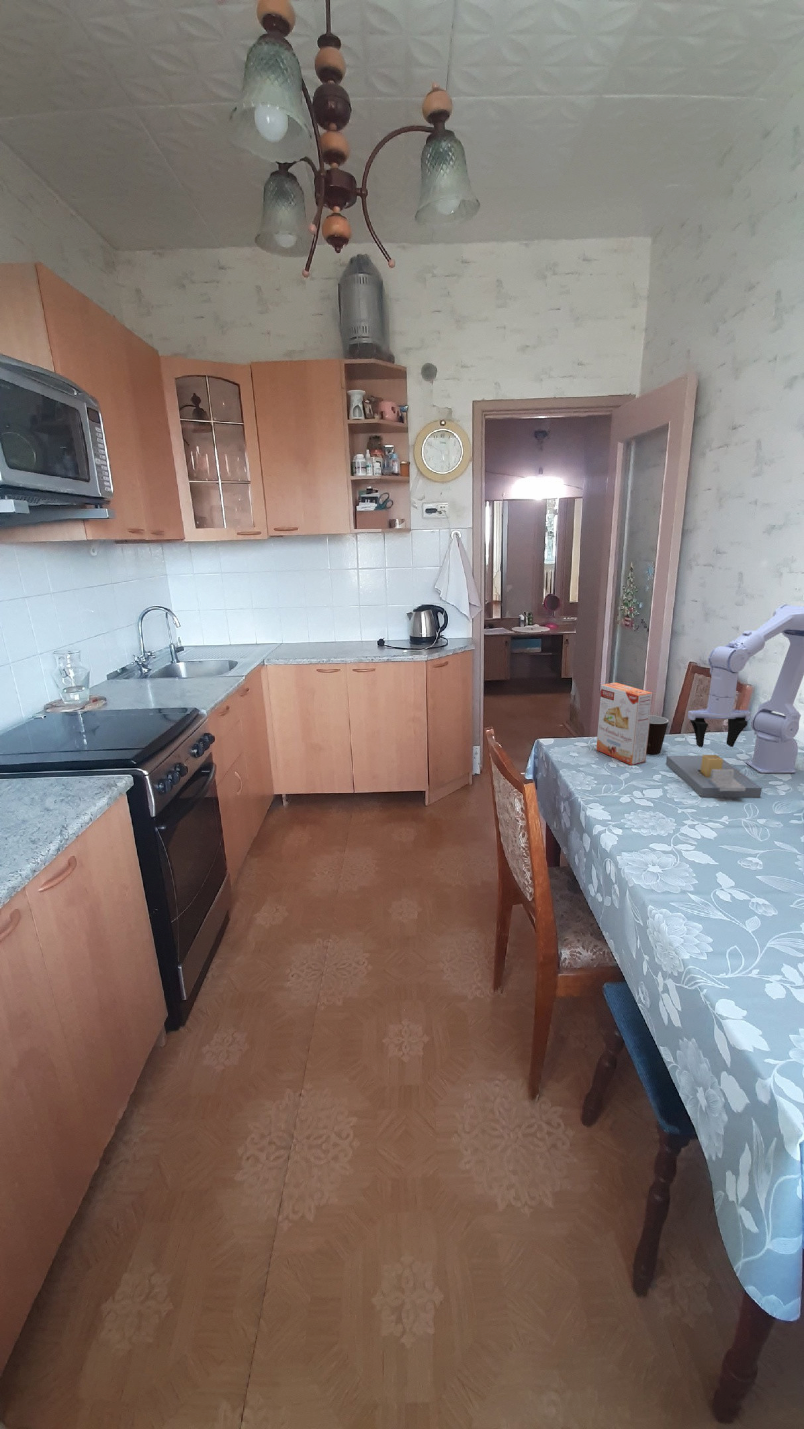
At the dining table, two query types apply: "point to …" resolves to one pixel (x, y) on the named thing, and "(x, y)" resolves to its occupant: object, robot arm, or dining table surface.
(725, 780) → the panel
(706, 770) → the plug
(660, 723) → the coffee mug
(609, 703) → the cracker box
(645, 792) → the dining table surface
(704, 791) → the socket plate
